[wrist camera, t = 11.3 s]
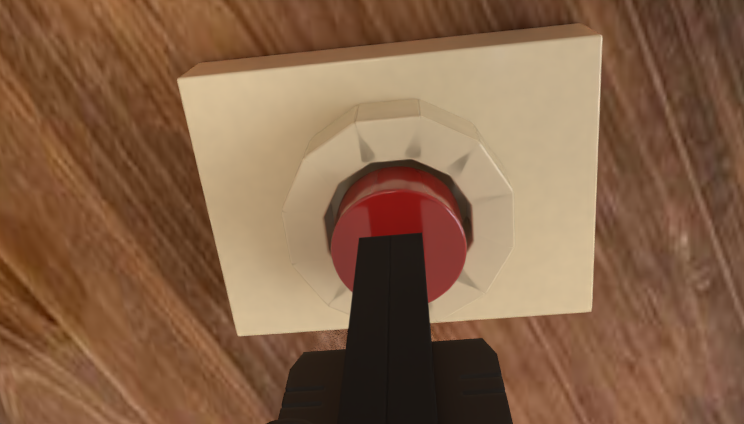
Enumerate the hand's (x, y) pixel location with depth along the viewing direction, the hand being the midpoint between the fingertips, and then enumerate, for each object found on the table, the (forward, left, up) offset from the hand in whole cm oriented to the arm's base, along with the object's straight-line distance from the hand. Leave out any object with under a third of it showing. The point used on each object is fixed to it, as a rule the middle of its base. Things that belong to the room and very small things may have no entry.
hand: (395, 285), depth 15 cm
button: (0, 0, -3) cm, 3 cm away
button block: (0, 0, -7) cm, 7 cm away
